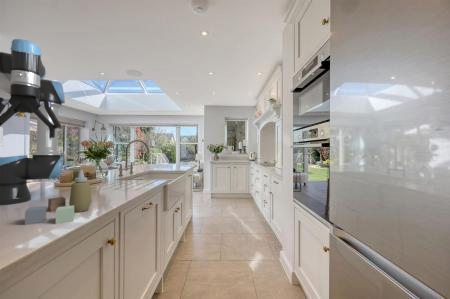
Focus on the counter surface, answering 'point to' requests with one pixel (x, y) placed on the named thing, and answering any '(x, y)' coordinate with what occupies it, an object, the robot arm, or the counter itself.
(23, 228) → the counter surface
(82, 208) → the squeeze bottle
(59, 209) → the sage cube
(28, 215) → the blue-grey cube
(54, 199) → the walnut cube
